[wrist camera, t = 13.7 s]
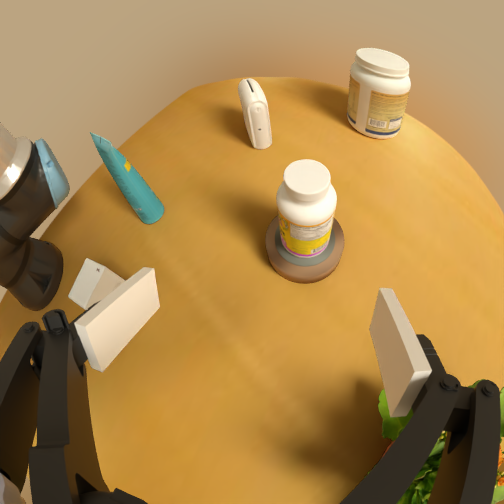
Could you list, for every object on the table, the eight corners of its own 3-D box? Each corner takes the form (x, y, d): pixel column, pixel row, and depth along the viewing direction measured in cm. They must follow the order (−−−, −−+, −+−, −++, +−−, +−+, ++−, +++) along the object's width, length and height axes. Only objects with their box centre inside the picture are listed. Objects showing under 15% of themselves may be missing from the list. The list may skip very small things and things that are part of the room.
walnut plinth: (255, 235, 42) (252, 223, 39) (317, 206, 43) (318, 194, 40) (288, 296, 37) (287, 289, 34) (355, 262, 38) (359, 252, 35)
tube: (174, 210, 47) (124, 129, 30) (157, 231, 46) (98, 155, 29) (148, 196, 50) (98, 123, 33) (132, 216, 48) (75, 146, 31)
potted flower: (305, 417, 30) (316, 452, 14) (451, 339, 30) (529, 305, 15) (354, 543, 18) (379, 607, 3) (486, 464, 19) (554, 478, 3)
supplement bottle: (285, 214, 39) (280, 148, 28) (331, 221, 38) (342, 156, 26) (276, 255, 37) (266, 196, 25) (325, 264, 35) (338, 206, 24)
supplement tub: (407, 127, 49) (423, 64, 34) (383, 149, 47) (399, 78, 32) (363, 102, 55) (370, 42, 39) (335, 121, 52) (338, 52, 37)
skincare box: (131, 287, 42) (86, 255, 31) (150, 296, 40) (106, 265, 30) (115, 320, 39) (66, 296, 29) (134, 331, 38) (85, 310, 28)
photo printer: (275, 147, 50) (268, 94, 39) (253, 152, 51) (243, 100, 40) (263, 118, 55) (255, 71, 44) (244, 123, 55) (233, 76, 44)
